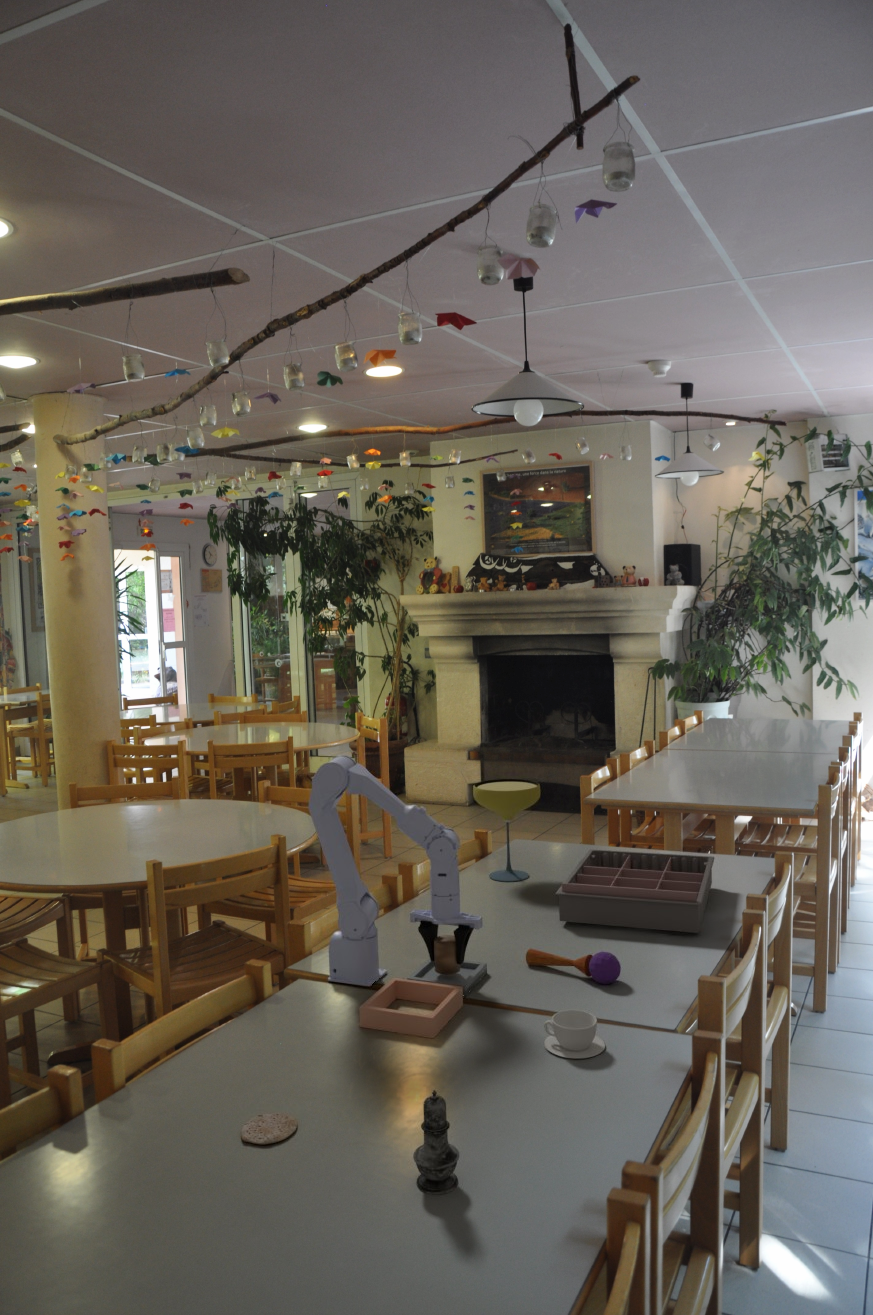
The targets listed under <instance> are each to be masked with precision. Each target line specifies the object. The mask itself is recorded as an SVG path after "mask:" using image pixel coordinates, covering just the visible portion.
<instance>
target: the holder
mask: <svg viewBox="0 0 873 1315" xmlns="http://www.w3.org/2000/svg"><path fill="white" fill-rule="evenodd" d="M463 998H464V996H463V989H462V987H460V986H453V985H445V984H438V983H430V982H423V981H415V980H407V978H399V977H392V978H391V979H390V980H389V981H387V982H386V983H385V984H384V985H383V986H381V987H380V989H378V990H377V991H376V992H375V993H374V994H373V995H372V996H371V997H369V998H368V999H367V1000H365V1002H364V1003H362V1004H361V1005H360V1006H359V1008H358V1011H359V1013H358V1014H359V1027H360V1028H365V1029H373V1030H376V1031H377V1030H378V1031H384V1032H390V1033H396V1032H397V1034H403V1035H404V1034H405V1035H410V1036H416V1037H422V1038H427V1039H428V1038H430V1039H434V1038H435V1037H437V1035H438V1034H439V1033H440V1032H441V1031H442V1029H444V1028H445V1026H446V1025H447V1024H448V1021H449V1020H450V1021H451V1020H452V1018H453V1017H454V1016H456V1014H457V1013H458V1012H459V1011H460V1009H462V1007H463V1006H464V1001H463V1000H464V999H463ZM395 1000H404V1001H411V1002H420V1003H425V1004H426V1003H427V1004H431V1005H432V1004H433V1005H438V1004H439V1005H438V1006H436V1008H435V1009H434V1010H433V1011H432V1012H431V1013H430V1014H426V1013H419V1012H413V1011H412V1012H410V1011H405V1010H399V1009H393V1008H388V1007H389V1006H390V1005H391V1004H392V1003H393V1002H394V1001H395ZM461 1006H462V1007H461ZM458 1010H459V1011H458ZM457 1011H458V1012H457ZM456 1012H457V1013H456ZM455 1013H456V1014H455ZM450 1021H449V1022H450ZM440 1030H441V1031H440Z"/></svg>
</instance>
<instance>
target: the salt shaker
mask: <svg viewBox="0 0 873 1315" xmlns="http://www.w3.org/2000/svg"><path fill="white" fill-rule="evenodd" d="M422 1108H423V1122H422V1123H421V1126H420V1128H421V1130H422V1131H423V1144H421V1145H419V1146H418V1147H417V1148H416V1149H415V1150H414V1152H413V1156H412V1159H413V1161H414V1162H415V1166H416V1168H417V1170H418V1172H419V1175H418V1176H417V1179H416V1183H415V1184H416V1187H417V1188H418V1190H420V1191H421V1192H422V1193H425V1194H427V1195H432V1196H439V1195H441V1196H442V1195H446V1194H448V1193H450V1192H452V1191H454V1190H455V1189H457V1187H458V1184H459V1179H458V1177H457V1175H456V1173H454V1172H455V1170H456V1167H457V1164H458V1161H459V1158H460V1152H459V1149H458V1148H457V1147H456V1146H454V1145H453V1144H451V1143H449V1139H448V1138H449V1136H448V1130H449V1129H450V1126H451V1124H450V1122H449V1121H448V1120H447V1103H446V1099H445V1098H443V1097H442V1096H440V1095H439V1094H438V1092H437V1091H436V1090H435V1089H433V1090H432V1092H431V1095H428V1096H427V1097H426V1098H425V1099H424V1101H423V1107H422Z"/></svg>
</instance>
